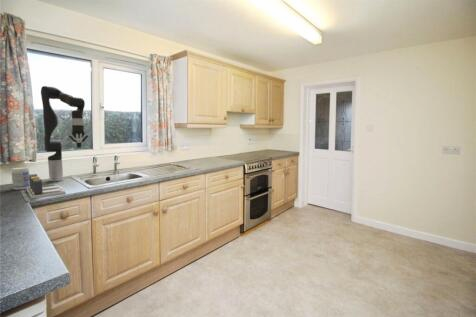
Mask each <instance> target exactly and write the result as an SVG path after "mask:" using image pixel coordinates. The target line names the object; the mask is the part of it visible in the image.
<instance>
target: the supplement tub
mask: <svg viewBox="0 0 476 317" xmlns="http://www.w3.org/2000/svg"><path fill="white" fill-rule="evenodd" d="M29 169H30V168H29V167H27V166H26V167H24V166H23V167H13V168H11V179H12V180H11V181H12V182H11V183H12V189H13V190H15V191H16V190H17V191H18V190H27V189H26V188H30V178H29V175H30V170H29Z"/></svg>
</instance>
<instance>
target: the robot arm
mask: <svg viewBox="0 0 476 317" xmlns="http://www.w3.org/2000/svg"><path fill="white" fill-rule="evenodd" d="M40 96H41V101H42V102H41V103H42V112H43V126H44V127H43V128H44V150H45V151H46V153H50V152H52V153H53V152H55V153H54V154H51V155H49V156H47V162H48V163H47V164H48V178H49V182H61V181H64V173H63V155H62V154H63V153H62V149H63V148H62V142H61V140H59V139H52V140H51V136H52V134H53V133H54V131H55V130H56V129H57V127H58V124H59V118H58V114H57V112H56V110H55V109H54V108H53V107H52V105H51V101H50V100H59V101H61V102H62V103H65V104H67V106H69V107H73V108H76V109H75V110H74V109H73V110H71V130H72V131H71V134H70V135H68V138H70V139H71V140H72V142H74V143H76V147H77V148H78V149H81V148H82V143H83V142H85V141H86V139H87V138H88V137H89V135H87V134H86V132H85V127H84V126H85V123H84V117H83V116H84V115H83V113H84V109H85V105H86V102H85V100H84V99H83V97H76V96H73V95H71V94H68V93H65V92H64V91H62V90H60V89H59V88H57V87H54V86H45V85H43V86H41V89H40Z"/></svg>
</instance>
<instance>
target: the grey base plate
mask: <svg viewBox="0 0 476 317" xmlns="http://www.w3.org/2000/svg"><path fill="white" fill-rule="evenodd" d="M36 176H38V174H37V173H33V174H32V173H31V174H30V173H29V178H30V187H29V188H26V189H25V190H26V192H27V193H28V195H29V197H30V199H36V198H42V197H43V198H44V197H52V196H58V195H65V194H66V191H65V190H64V189H63V188H62V187H61V186H60V185H59V184H55V183H54V184H48V185H43V180H42V178H39V179H34V180H33V186H34V191H32V184H31V177H36Z"/></svg>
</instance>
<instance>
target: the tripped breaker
mask: <svg viewBox="0 0 476 317" xmlns="http://www.w3.org/2000/svg"><path fill="white" fill-rule="evenodd" d="M34 179H40V177H39V175H37V176H36V177H31V184H32V191H34V186H33V180H34Z"/></svg>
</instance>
